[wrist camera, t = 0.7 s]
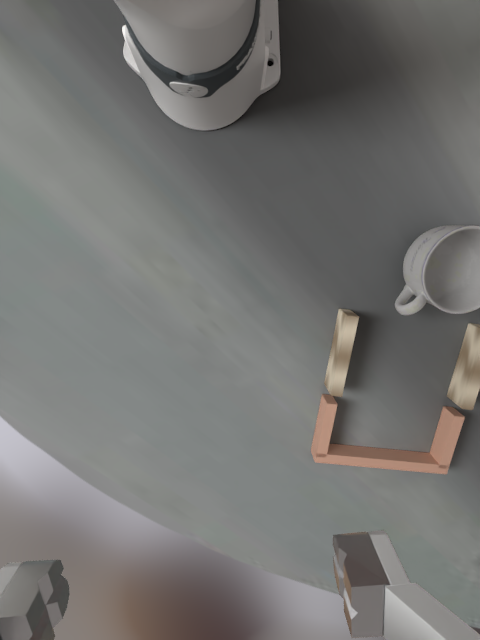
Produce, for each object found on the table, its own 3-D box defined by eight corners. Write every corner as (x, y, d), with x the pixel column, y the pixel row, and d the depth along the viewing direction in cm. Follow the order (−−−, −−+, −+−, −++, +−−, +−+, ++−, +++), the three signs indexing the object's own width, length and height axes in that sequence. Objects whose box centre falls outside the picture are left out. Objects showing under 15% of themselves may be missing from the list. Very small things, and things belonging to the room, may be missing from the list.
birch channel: (339, 308, 53) (347, 315, 49) (479, 324, 54) (497, 332, 50) (324, 383, 56) (330, 395, 52) (456, 397, 57) (472, 410, 53)
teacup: (454, 209, 50) (495, 207, 42) (480, 278, 52) (523, 289, 44) (361, 259, 51) (384, 267, 43) (391, 324, 54) (417, 342, 46)
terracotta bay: (322, 393, 57) (326, 403, 54) (453, 407, 58) (464, 417, 55) (310, 450, 59) (314, 462, 56) (436, 462, 60) (446, 474, 58)
